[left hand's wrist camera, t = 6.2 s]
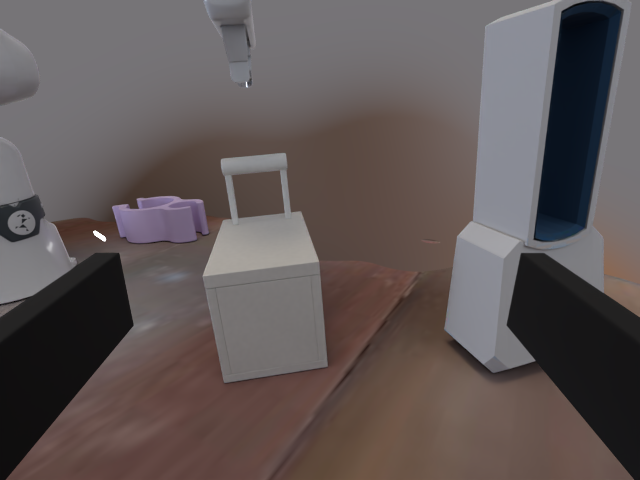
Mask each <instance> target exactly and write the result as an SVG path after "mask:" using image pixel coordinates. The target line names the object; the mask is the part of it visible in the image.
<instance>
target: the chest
mask: <svg viewBox="0 0 640 480" xmlns="http://www.w3.org/2000/svg"><path fill="white" fill-rule="evenodd" d="M206 295H207V300H208V305H209V310H210V315H211V320H212V325H213V330H214V335H215V340H216V345H217V350H218V355H219V360H220V365H221V370H222V375H223V380H224V383H228V382H235V381H241V380H247V379H254V378H260V377H266V376H273V375H279V374H286V373H292V372H298V371H305V370H311V369H317V368H324V367H328V362H327V350H326V338H325V326H324V315H323V303H322V291H321V279H320V274H317V275H309V276H301V277H294V278H286V279H278V280H271V281H263V282H255V283H247V284H240V285H232V286H224V287H217V288H209V289H206Z"/></svg>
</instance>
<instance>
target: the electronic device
mask: <svg viewBox="0 0 640 480" xmlns="http://www.w3.org/2000/svg"><path fill="white" fill-rule="evenodd" d="M631 6H632V3H631V2H630V1H628V0H554V1H551V2H548V3H545V4H541V5H538V6H535V7H532V8H529V9H526V10H523V11H520V12H517V13H514V14H510V15H507V16H504V17H501V18H499V19H498V20H496V21H494V22H492V23H490V24H488V25H486V27H485V42H484V58H483V74H482V89H481V105H480V121H479V136H478V152H477V168H476V183H475V200H474V215H473V222H472V221H471V222H470V223H469V224H468V225H467V226H466V227H465V228H464V230H463V231H462V232H461V233H460V234H459V235H458V236H457V243H456V250H455V257H454V264H453V271H452V278H451V286H450V293H449V300H448V307H447V314H446V321H445V328H444V330H445V331H446V332H448V333H449V334H450V335H451V336H452V337H453V338H454V339H455V340H456V341H458V342H459V343H460V344H461V345H462V346H463V347H464V348H465V349H467V350H468V351H469V352H470V353H471V354H472V355H473V356H474V357H475V358H477V359H478V360H479V361H480V362H481V363H482V364H483V365H484V366H486V367H487V368H488V369H489V370H490V371H491V372H493V373H495V372H499V371H503V370H507V369H510V368H514V367H517V366H520V365H524V364H527V363H531V362H534V361H536V360H535V359H534V358H533V357H532V356H531V354H530V353H529V352H528V351H527V350H526V348H525V347H524V346H523V345H522V344H521V342H520V341H519V340H518V339H517V338H516V336H515V335H514V334H513V333H512V332H511V330H510V329H509V328H508V327H507V326H506V325H507V320H508V315H509V310H510V305H511V300H512V295H513V290H514V285H515V280H516V275H517V270H518V265H519V260H520V255H521V253H545V254H547V255H548V256H550V257H551V258H553V259H554V260H556V261H557V262H558V263H560V264H561V265H563V266H564V267H566V268H567V269H569V270H570V271H572V272H573V273H575V274H576V275H578V276H579V277H581V278H582V279H584V280H585V281H587V282H588V283H589V284H591V285H592V286H594V287H595V288H597V289H598V290H600V291H601V292H603V293H604V244H603V237H602V236H601V234H600V233H599V232H598V231H597V230H596V229H595V228H594V227H593V220H594V215H595V209H596V203H597V198H598V192H599V186H600V181H601V175H602V169H603V164H604V158H605V152H606V146H607V141H608V135H609V130H610V124H611V119H612V113H613V107H614V102H615V96H616V90H617V85H618V79H619V73H620V68H621V62H622V56H623V51H624V45H625V40H626V34H627V28H628V23H629V17H630V11H631Z"/></svg>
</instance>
